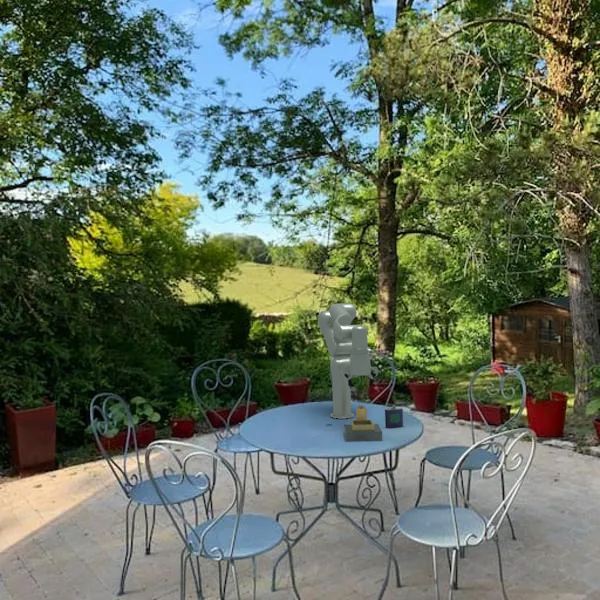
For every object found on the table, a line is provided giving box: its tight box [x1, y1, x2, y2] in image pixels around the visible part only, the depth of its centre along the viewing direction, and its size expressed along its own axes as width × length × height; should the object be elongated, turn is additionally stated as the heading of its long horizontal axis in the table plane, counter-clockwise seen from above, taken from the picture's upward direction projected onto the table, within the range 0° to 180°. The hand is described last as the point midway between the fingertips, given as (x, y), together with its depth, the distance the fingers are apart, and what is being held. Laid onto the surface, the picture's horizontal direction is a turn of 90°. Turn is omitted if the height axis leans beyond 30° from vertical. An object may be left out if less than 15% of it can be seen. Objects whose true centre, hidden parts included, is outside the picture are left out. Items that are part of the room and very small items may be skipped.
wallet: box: [384, 404, 404, 429], centre depth 258 cm, size 9×3×11 cm, turn 105°
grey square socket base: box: [343, 419, 383, 442], centre depth 243 cm, size 14×16×6 cm
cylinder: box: [355, 404, 368, 420], centre depth 257 cm, size 5×5×11 cm
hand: (360, 387), depth 256 cm, fingers open, 9 cm apart
